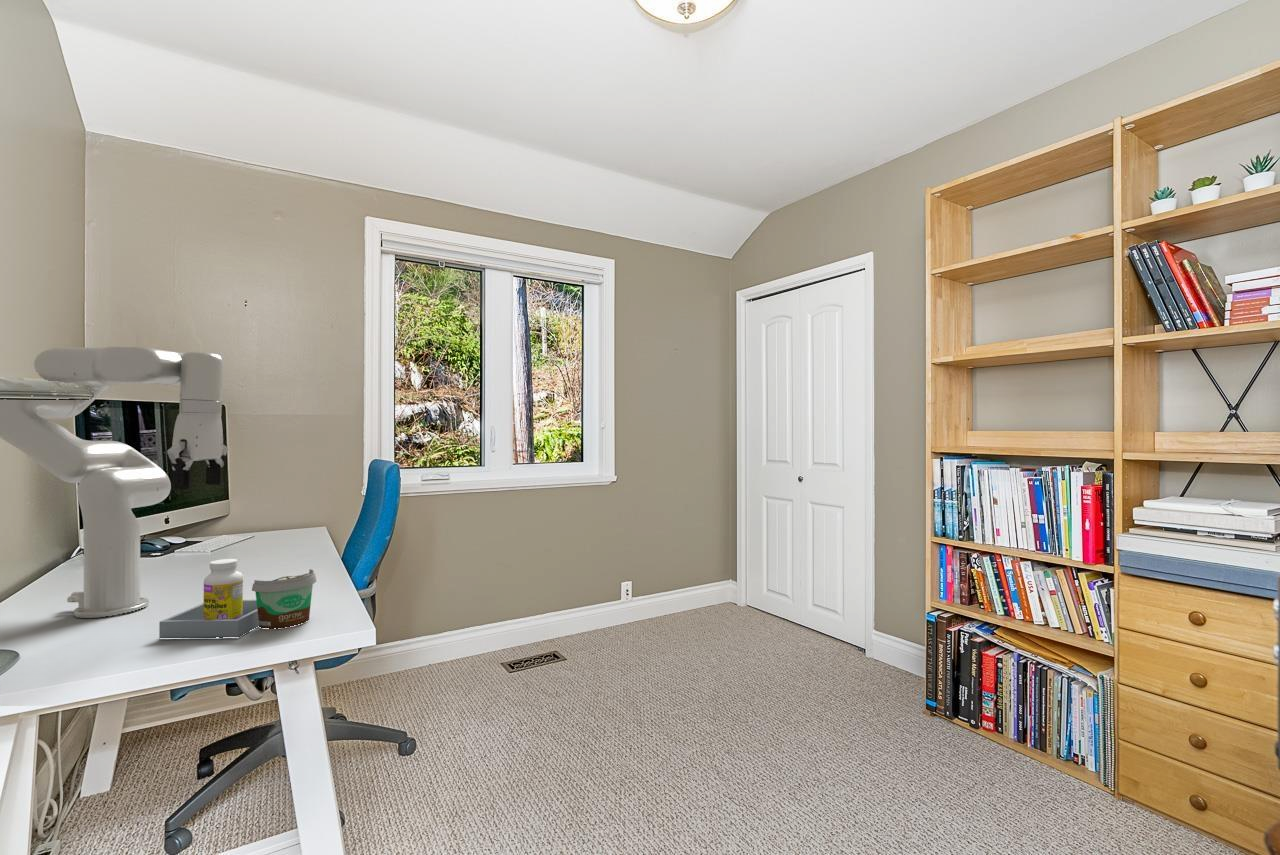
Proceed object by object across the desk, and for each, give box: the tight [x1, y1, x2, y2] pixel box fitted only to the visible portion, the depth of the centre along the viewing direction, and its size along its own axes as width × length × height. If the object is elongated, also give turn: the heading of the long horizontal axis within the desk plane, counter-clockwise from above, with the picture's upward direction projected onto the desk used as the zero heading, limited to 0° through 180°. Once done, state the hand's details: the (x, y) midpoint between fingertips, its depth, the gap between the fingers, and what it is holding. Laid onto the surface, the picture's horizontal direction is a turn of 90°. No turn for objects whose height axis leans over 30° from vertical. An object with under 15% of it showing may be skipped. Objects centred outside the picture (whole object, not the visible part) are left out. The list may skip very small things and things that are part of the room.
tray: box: [158, 599, 259, 638], centre depth 124 cm, size 15×15×4 cm
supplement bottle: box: [203, 558, 244, 620], centre depth 124 cm, size 7×7×13 cm
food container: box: [251, 568, 317, 630], centre depth 126 cm, size 12×6×10 cm, turn 148°
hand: (198, 486), depth 134 cm, fingers open, 9 cm apart
